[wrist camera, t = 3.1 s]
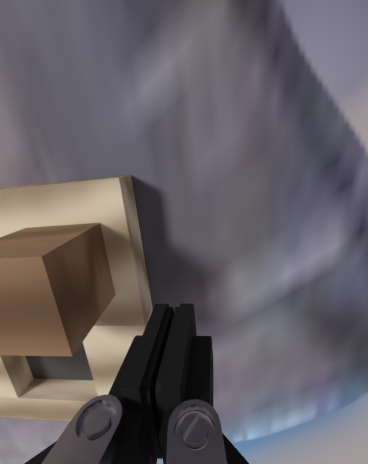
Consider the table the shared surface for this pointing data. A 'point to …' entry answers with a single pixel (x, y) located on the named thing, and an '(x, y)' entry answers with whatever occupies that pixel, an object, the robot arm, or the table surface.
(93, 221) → the board
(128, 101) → the table surface
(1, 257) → the walnut cube
